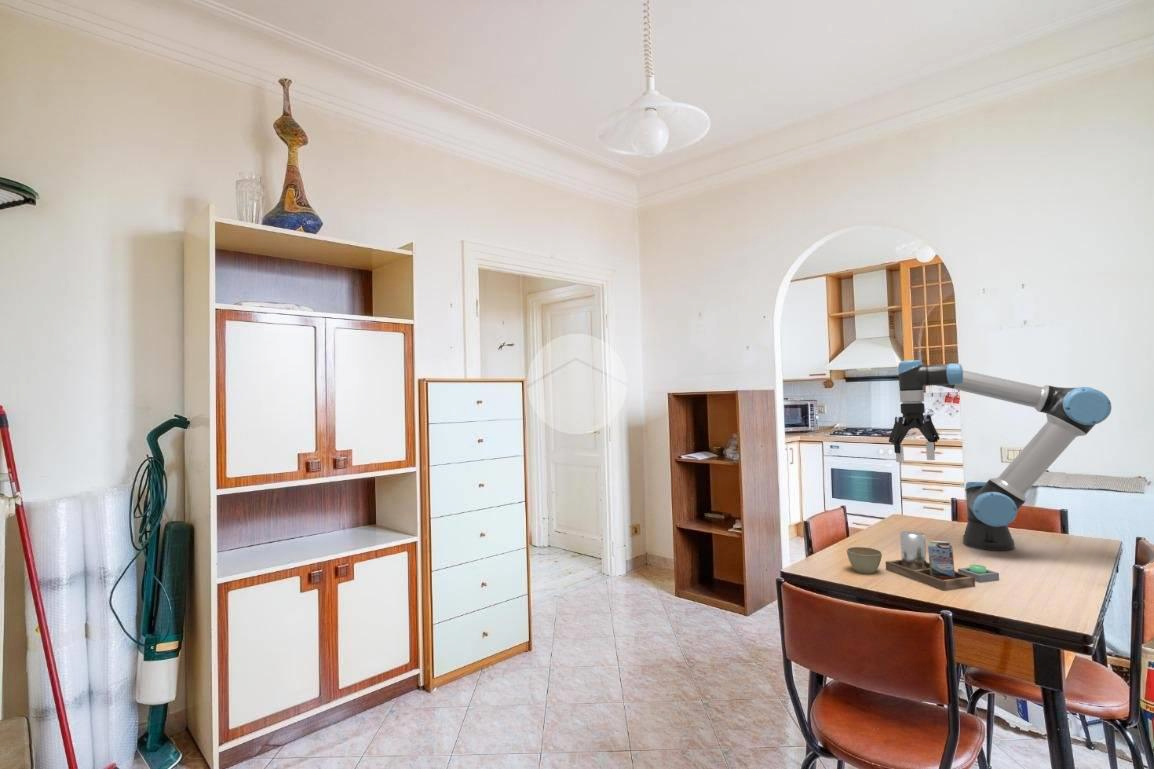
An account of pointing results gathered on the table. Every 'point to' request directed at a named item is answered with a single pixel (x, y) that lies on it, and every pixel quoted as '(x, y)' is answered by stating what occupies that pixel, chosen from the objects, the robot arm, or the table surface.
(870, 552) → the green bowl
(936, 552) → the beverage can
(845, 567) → the table surface
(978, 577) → the gray soap dish
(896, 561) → the brown compartment tray
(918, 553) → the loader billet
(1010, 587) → the table surface
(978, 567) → the button
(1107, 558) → the table surface
